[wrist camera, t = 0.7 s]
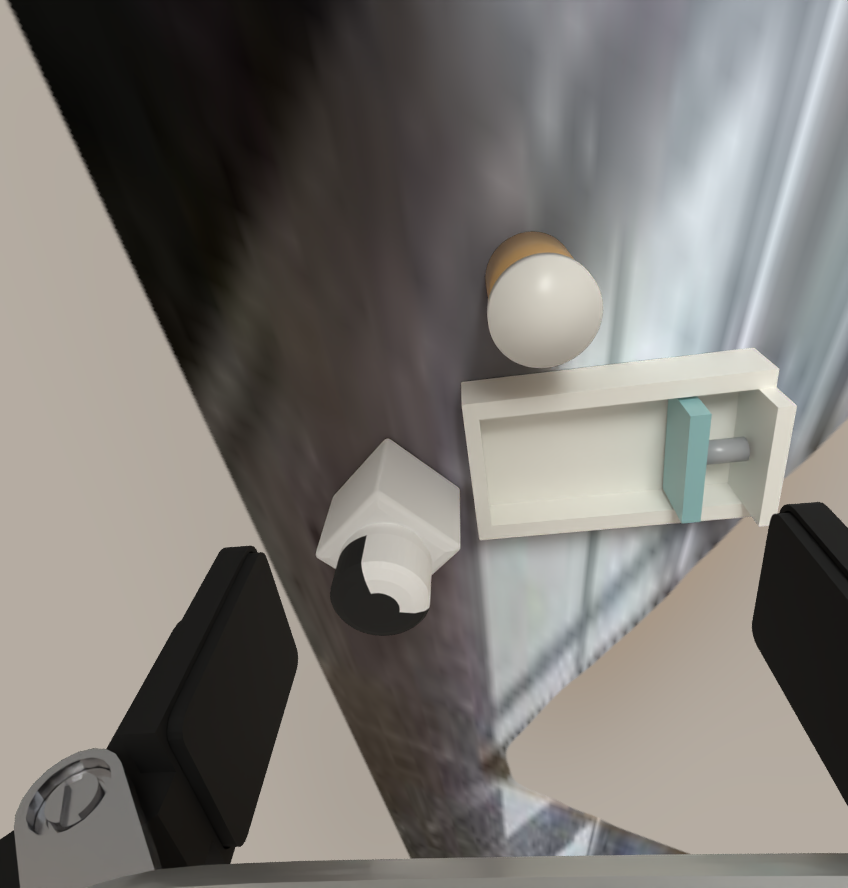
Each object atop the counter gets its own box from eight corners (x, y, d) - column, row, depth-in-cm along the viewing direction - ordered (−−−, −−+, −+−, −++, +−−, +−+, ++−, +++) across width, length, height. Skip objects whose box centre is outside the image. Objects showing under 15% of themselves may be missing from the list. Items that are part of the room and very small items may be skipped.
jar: (477, 235, 36) (482, 266, 29) (575, 221, 35) (603, 249, 28) (486, 327, 38) (493, 374, 32) (577, 315, 38) (603, 361, 31)
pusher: (668, 387, 38) (690, 416, 35) (738, 379, 38) (767, 408, 34) (662, 488, 42) (681, 523, 39) (725, 482, 42) (750, 517, 38)
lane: (461, 382, 40) (462, 423, 35) (753, 347, 38) (800, 386, 33) (477, 511, 46) (480, 563, 41) (734, 487, 44) (772, 539, 38)
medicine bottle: (404, 543, 48) (390, 666, 37) (331, 496, 46) (295, 612, 35) (462, 487, 45) (464, 604, 34) (386, 434, 43) (365, 542, 32)
